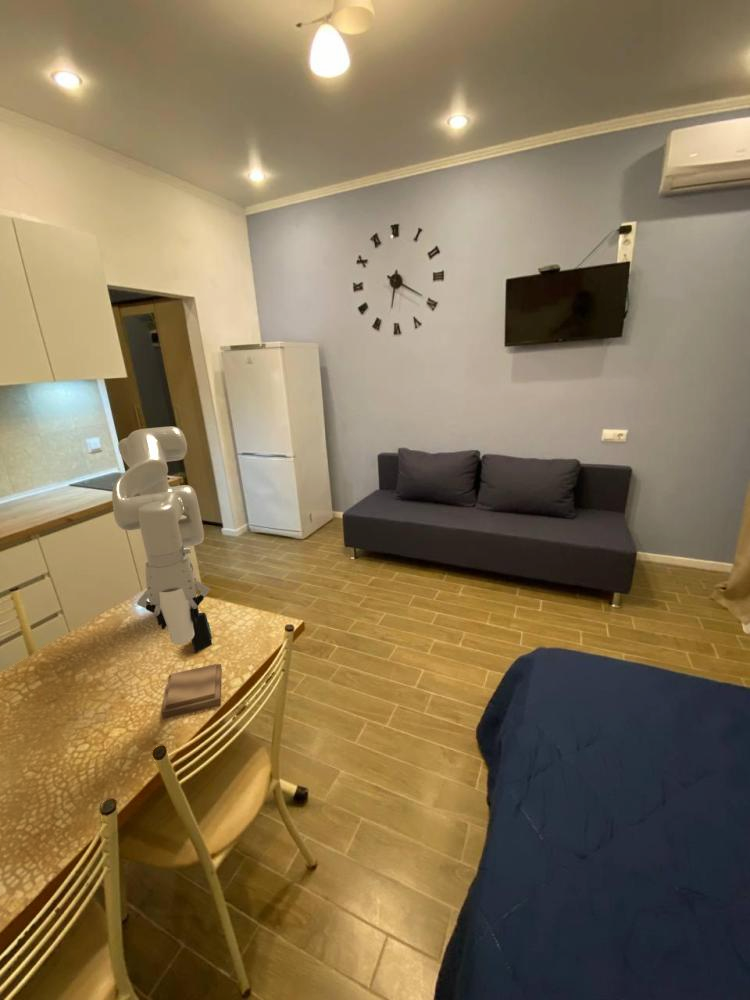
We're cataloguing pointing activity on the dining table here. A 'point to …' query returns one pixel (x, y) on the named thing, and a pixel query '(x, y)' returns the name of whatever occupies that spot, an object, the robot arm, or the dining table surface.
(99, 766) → the dining table surface
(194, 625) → the speaker
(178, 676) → the pedestal
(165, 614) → the drinking glass
